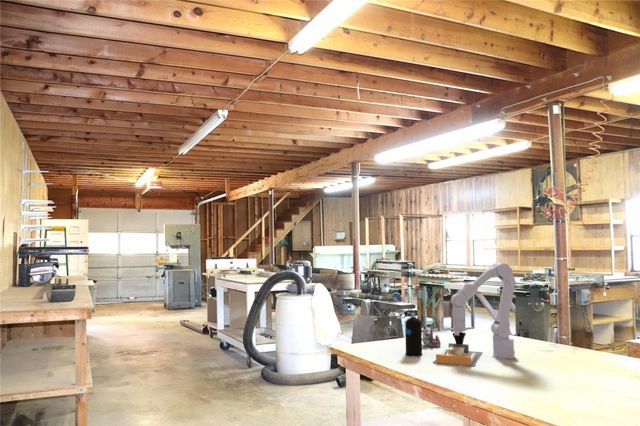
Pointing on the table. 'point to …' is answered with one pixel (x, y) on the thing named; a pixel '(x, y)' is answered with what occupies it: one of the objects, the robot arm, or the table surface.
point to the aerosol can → (413, 336)
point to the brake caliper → (430, 339)
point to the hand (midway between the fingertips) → (459, 348)
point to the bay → (458, 358)
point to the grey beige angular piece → (458, 349)
